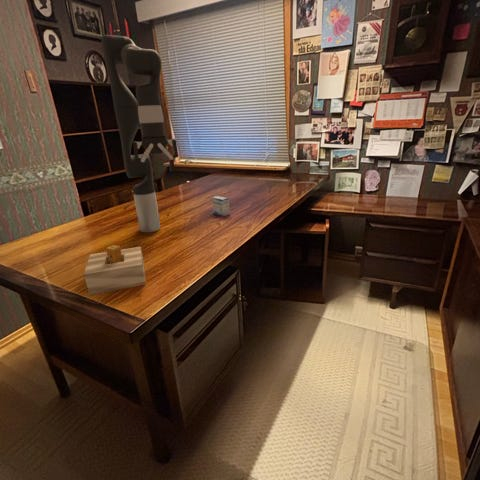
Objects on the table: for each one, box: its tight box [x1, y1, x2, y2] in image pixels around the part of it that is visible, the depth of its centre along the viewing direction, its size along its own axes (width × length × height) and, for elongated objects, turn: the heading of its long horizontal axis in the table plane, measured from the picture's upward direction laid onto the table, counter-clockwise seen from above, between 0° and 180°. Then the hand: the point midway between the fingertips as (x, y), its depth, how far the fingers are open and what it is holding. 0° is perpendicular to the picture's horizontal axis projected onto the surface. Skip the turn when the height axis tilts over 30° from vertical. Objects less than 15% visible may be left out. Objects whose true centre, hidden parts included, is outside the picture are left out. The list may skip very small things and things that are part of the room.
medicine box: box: [211, 195, 230, 217], centre depth 153 cm, size 8×4×9 cm, turn 47°
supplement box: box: [105, 244, 123, 264], centre depth 94 cm, size 3×3×10 cm
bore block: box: [83, 246, 147, 296], centre depth 95 cm, size 14×16×7 cm
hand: (159, 171), depth 103 cm, fingers open, 8 cm apart
